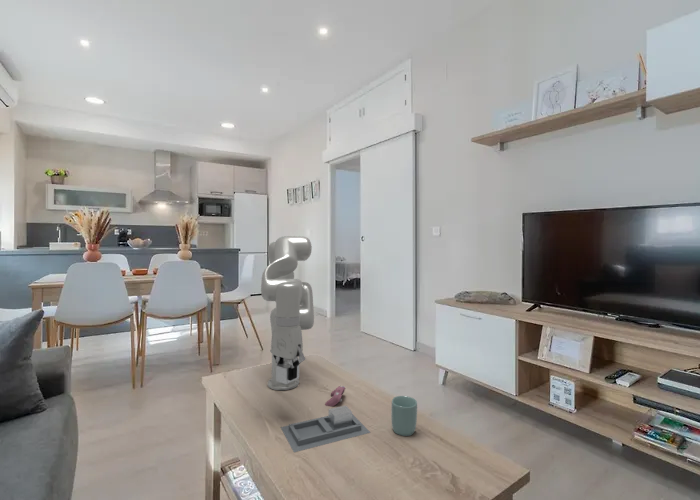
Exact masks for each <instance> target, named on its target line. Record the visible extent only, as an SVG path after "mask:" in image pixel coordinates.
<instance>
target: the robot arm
mask: <svg viewBox="0 0 700 500" xmlns="http://www.w3.org/2000/svg"><path fill="white" fill-rule="evenodd" d="M312 248H313V247H312V242H311V240H310V239H309V238H308V237H306V236H295V235H294V236H291V235H290V236H289V235H288V236H287V235H286V236H281V237H278V238H277V239H276V240H275V241H273V242H271V243H269V245H268V248H267V255H268V260H269V265H267V266H266V267H265V268H264V270H263V272H262V276H261V286H260V287H261V288H260V292H261V297H262V299H263V300H265V301H266V302H275V308H273V309H272V310H271V311H270V313H269V314H270V315H269V320H270V321H269V322H270V328H271V342H270V343H271V344H270V353H271V378H270V379H268V381H267V387H268V388H269V389H271V390H275V391H288V390H289V391H290V390H292V389H295V388H297V387H298V386H299V385H300V378H298V379H296V380H294V381H292V382H290V383H288V384H283V383H281V382H278V381H276V365H279V364H281V363H283V362H286V361H288V360H289V361H290V368H289V380H290V381H291V380H293V379H295V378H297V366H299V367H300V364H301V363H302V362H304V361H306V356H305V355H304V352H303V346H304V345H303V334H302V333H303V331H306V330H310V329H312V328H313V326H314V324H315V314H314V313H315V312H314V311H315V310H314V295H313V288H312V285H311V284H310V283H309V282H306V281H305V282H304V281H302V280H300V279H298V278H295V272H294V271H296V269H297V268H298V265H299V264H298V263H299V262H304V261H307V260H308V259H309V258H310V256H311V255H312ZM298 261H299V262H298Z"/></svg>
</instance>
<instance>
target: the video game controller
mask: <svg viewBox="0 0 700 500" xmlns="http://www.w3.org/2000/svg"><path fill="white" fill-rule="evenodd" d="M345 391H346V387H345V386H343V385H339V386H337V387H336V388H335V389H334V390H332V391H331V393H330V397H331V398H330V399H328V400H327V401H326V402H325V404H324V405H325V406H326V407H335V406H336V405H338V403H339V402H340V403H342V402H343V398H342V396H343V395H344V393H345Z"/></svg>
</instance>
